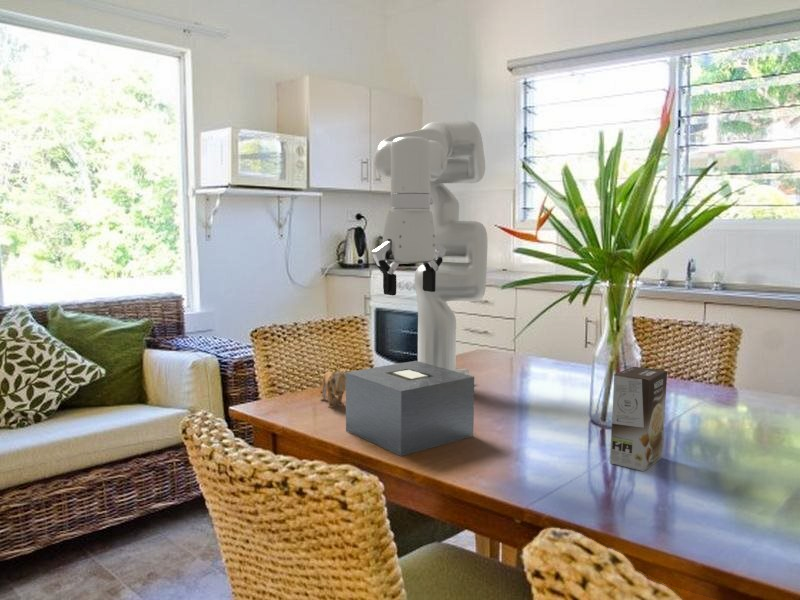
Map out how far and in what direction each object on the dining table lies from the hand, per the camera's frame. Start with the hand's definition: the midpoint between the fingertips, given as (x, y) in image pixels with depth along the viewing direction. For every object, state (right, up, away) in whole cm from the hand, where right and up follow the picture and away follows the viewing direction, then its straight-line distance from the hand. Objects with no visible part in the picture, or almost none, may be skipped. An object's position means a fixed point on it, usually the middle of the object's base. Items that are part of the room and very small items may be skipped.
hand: (409, 292), depth 130 cm
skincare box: (0, -28, +4) cm, 28 cm away
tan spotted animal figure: (-17, -25, +25) cm, 40 cm away
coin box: (0, -28, +3) cm, 28 cm away
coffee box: (+40, -30, -11) cm, 51 cm away
